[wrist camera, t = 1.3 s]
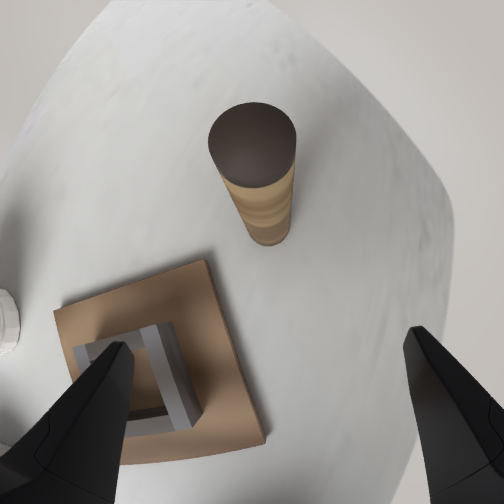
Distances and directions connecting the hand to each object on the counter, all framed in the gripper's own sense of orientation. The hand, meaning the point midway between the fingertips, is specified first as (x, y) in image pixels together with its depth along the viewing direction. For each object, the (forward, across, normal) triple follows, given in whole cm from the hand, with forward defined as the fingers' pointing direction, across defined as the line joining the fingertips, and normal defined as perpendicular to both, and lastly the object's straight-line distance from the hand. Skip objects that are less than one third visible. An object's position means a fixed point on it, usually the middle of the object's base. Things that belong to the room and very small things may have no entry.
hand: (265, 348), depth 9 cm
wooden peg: (+14, 0, +4) cm, 15 cm away
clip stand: (+6, +10, +12) cm, 17 cm away
